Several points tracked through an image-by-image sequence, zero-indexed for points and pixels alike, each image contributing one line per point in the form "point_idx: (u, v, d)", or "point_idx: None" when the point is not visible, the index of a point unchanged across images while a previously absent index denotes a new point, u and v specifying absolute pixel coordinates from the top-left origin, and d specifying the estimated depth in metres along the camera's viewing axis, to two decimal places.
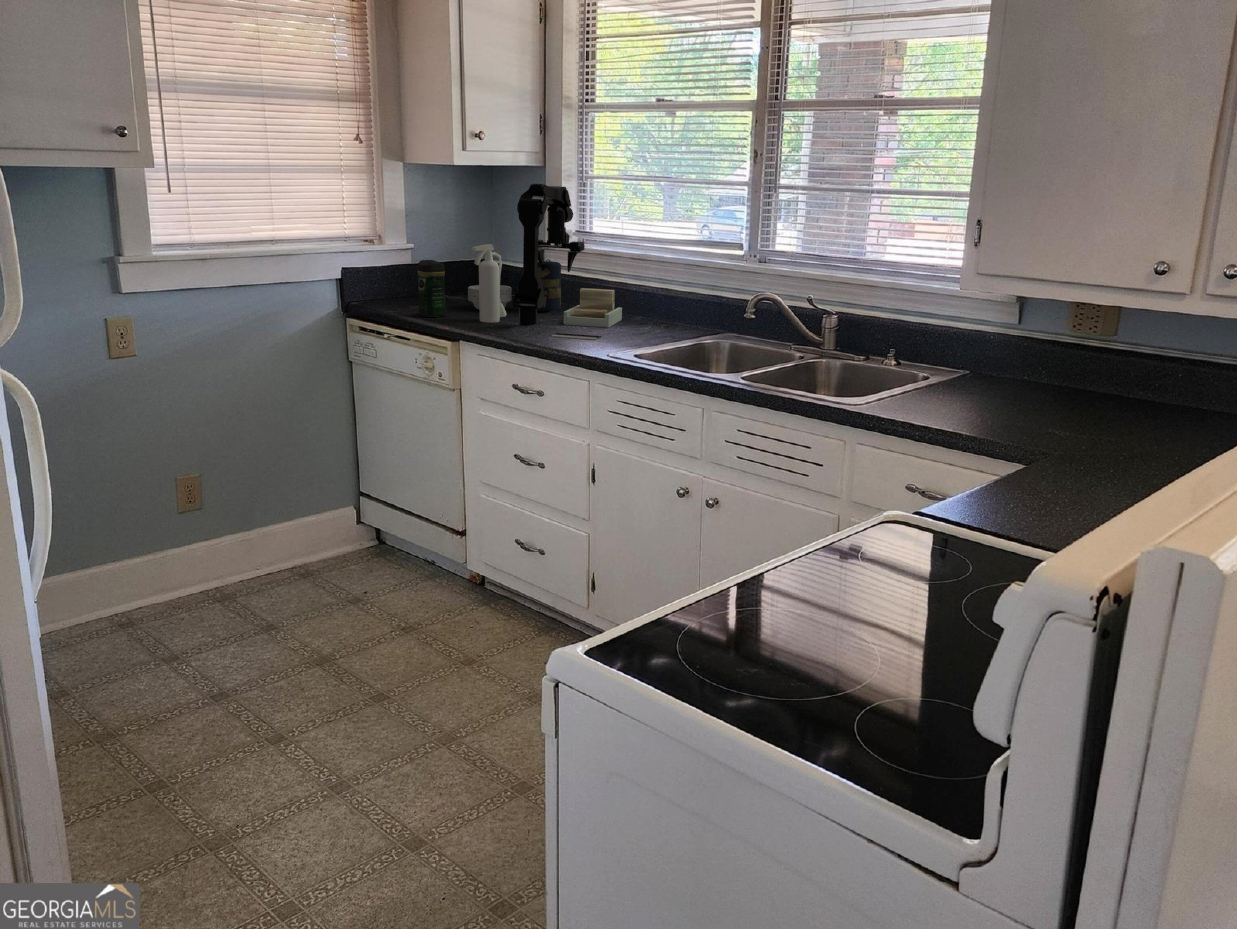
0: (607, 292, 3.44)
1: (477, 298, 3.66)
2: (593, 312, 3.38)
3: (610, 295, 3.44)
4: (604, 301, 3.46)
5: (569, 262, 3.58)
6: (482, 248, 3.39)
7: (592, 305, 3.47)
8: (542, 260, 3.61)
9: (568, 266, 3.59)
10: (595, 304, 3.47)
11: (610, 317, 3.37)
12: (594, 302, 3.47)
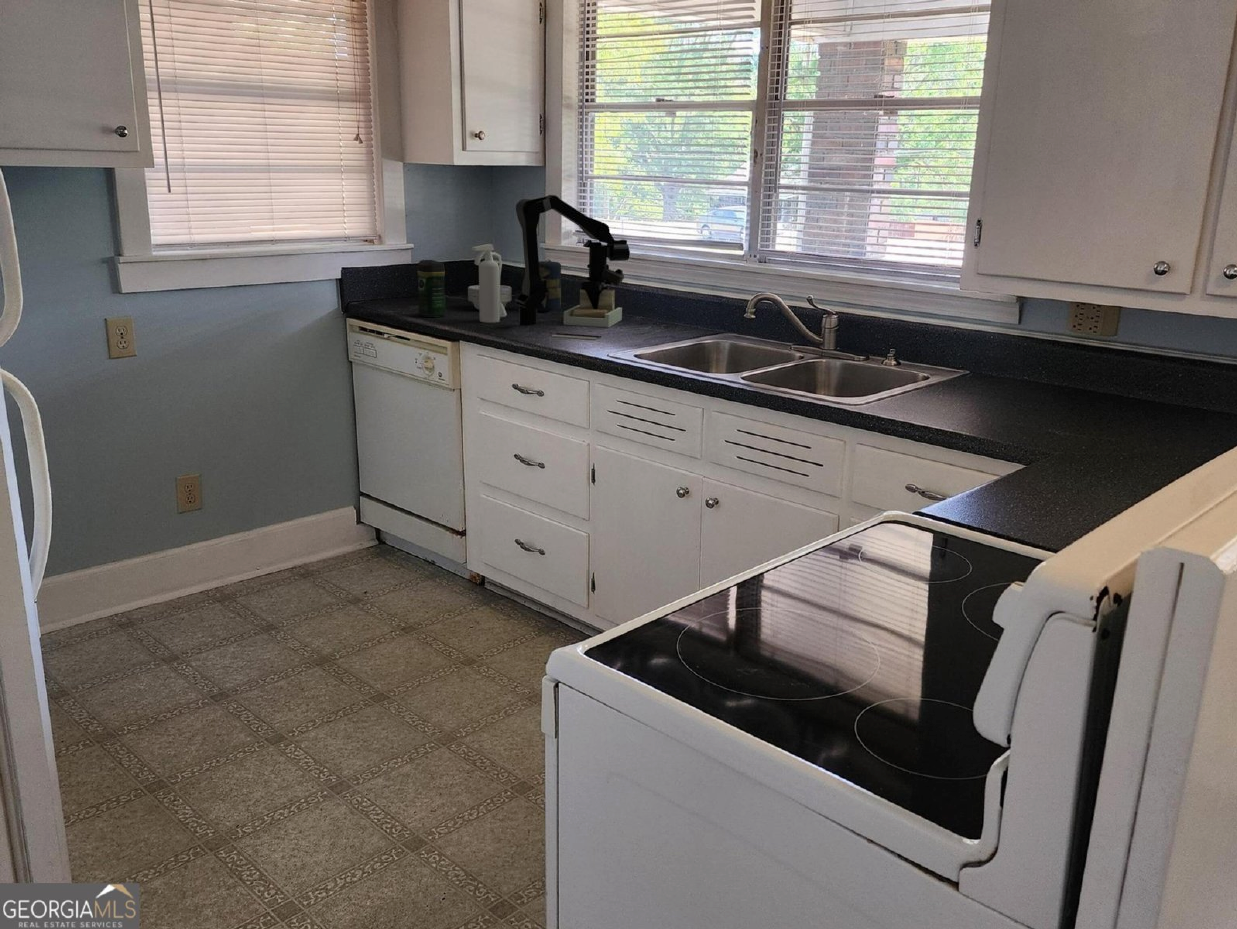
0: (607, 292, 3.44)
1: (477, 298, 3.66)
2: (593, 312, 3.38)
3: (610, 295, 3.44)
4: (604, 301, 3.46)
5: None
6: (482, 248, 3.39)
7: None
8: None
9: None
10: None
11: (610, 317, 3.37)
12: None
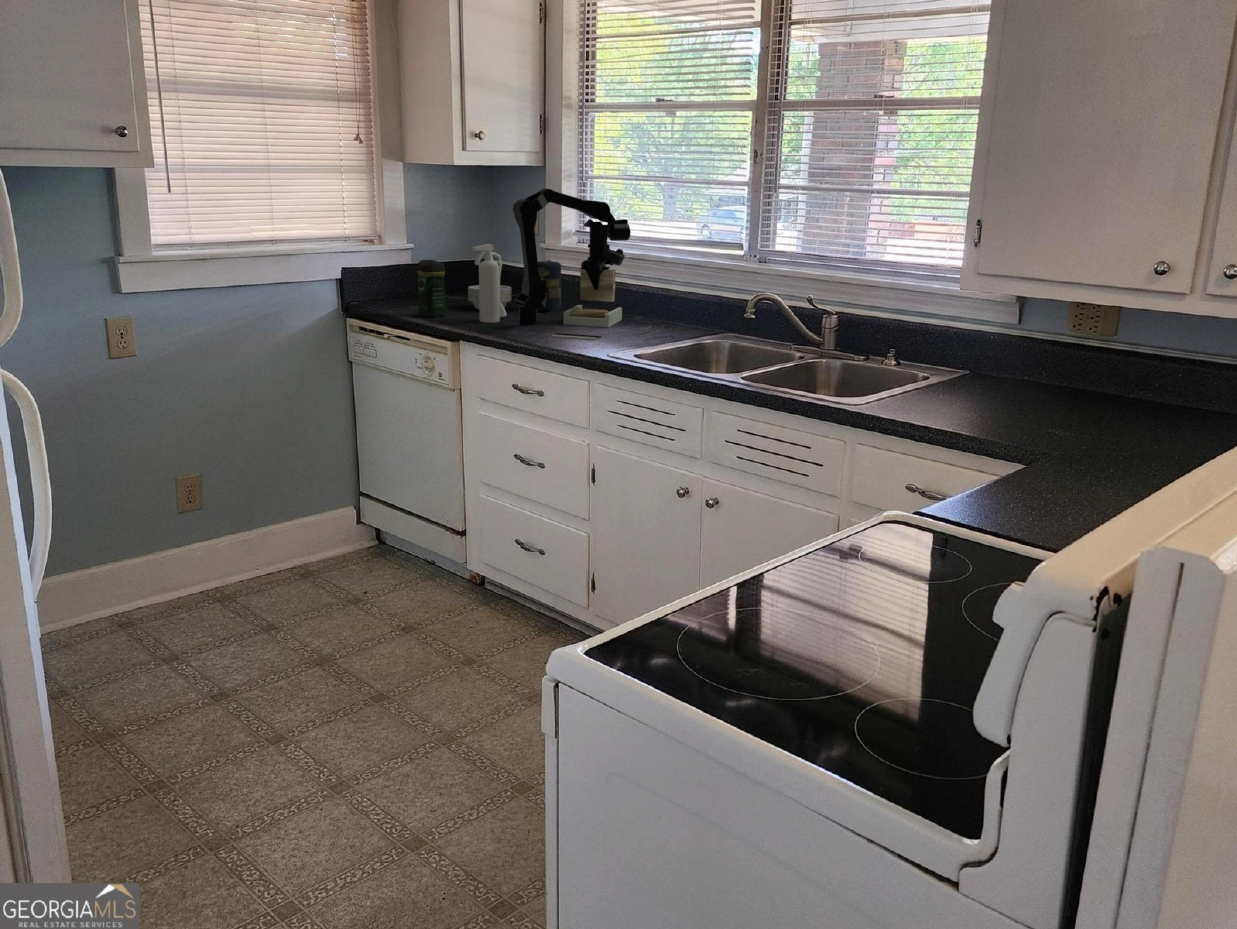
0: (608, 272, 3.43)
1: (477, 298, 3.66)
2: (593, 312, 3.38)
3: (611, 275, 3.43)
4: (605, 281, 3.44)
5: None
6: (482, 248, 3.39)
7: None
8: None
9: None
10: None
11: (610, 317, 3.37)
12: None
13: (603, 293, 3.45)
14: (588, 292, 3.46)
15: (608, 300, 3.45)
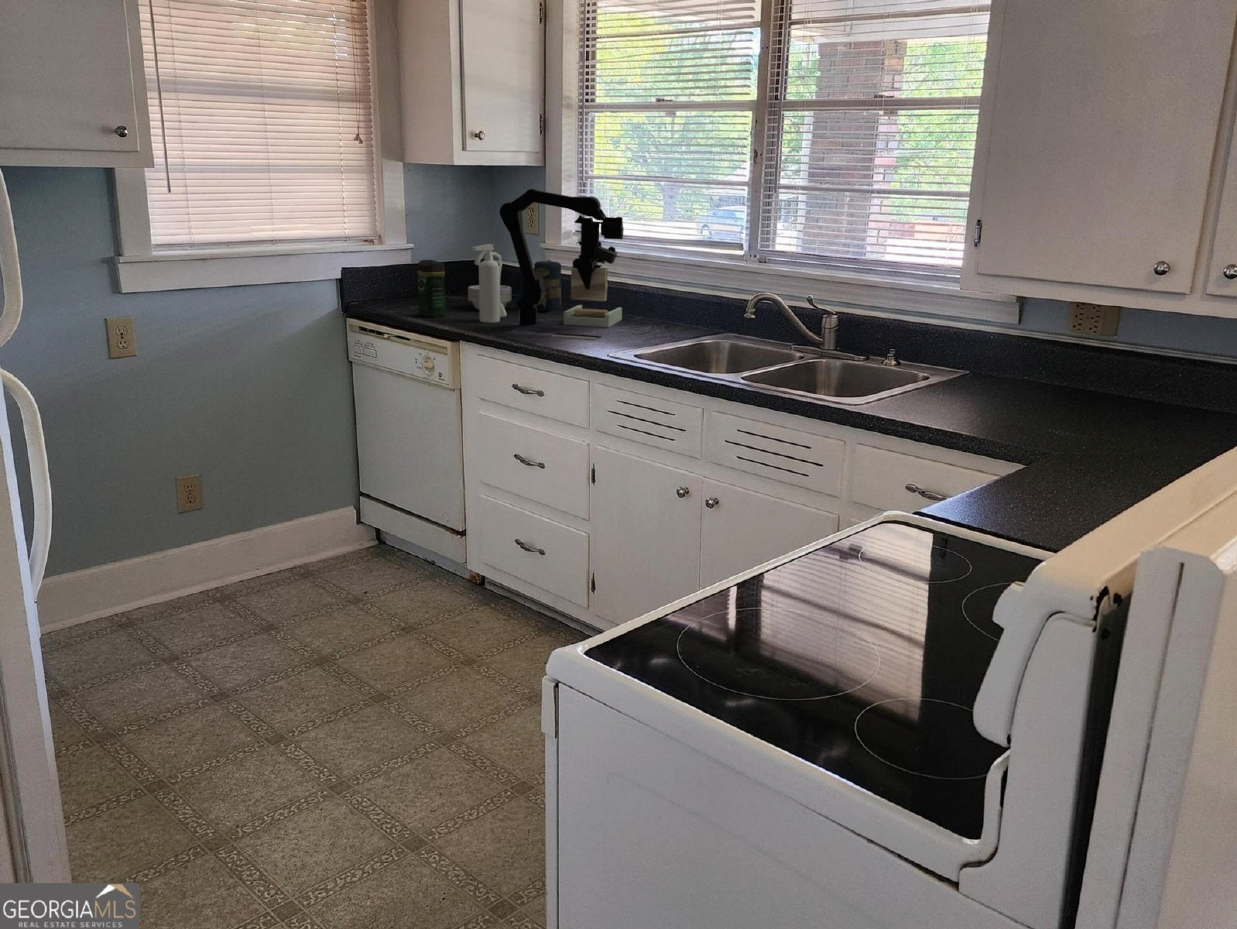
0: (600, 270, 3.30)
1: (477, 298, 3.66)
2: (593, 312, 3.38)
3: (603, 273, 3.30)
4: (597, 280, 3.31)
5: None
6: (482, 248, 3.39)
7: None
8: None
9: None
10: None
11: (610, 317, 3.37)
12: None
13: (595, 292, 3.33)
14: (580, 291, 3.34)
15: (600, 299, 3.33)
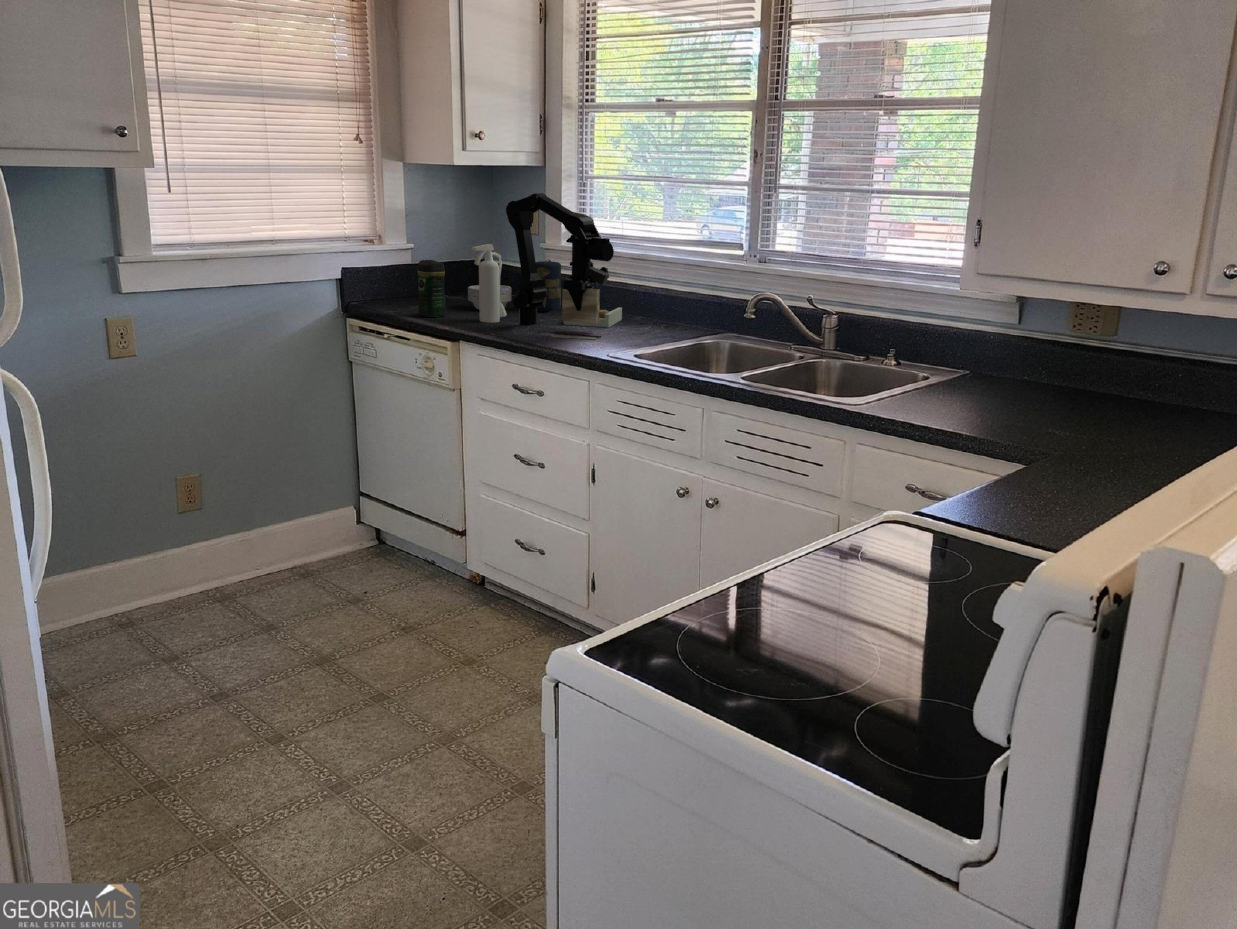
0: (591, 291, 3.21)
1: (477, 298, 3.66)
2: None
3: (595, 295, 3.21)
4: (588, 301, 3.22)
5: None
6: (482, 248, 3.39)
7: None
8: None
9: None
10: None
11: (610, 317, 3.37)
12: None
13: (587, 314, 3.24)
14: (571, 313, 3.25)
15: (592, 321, 3.24)
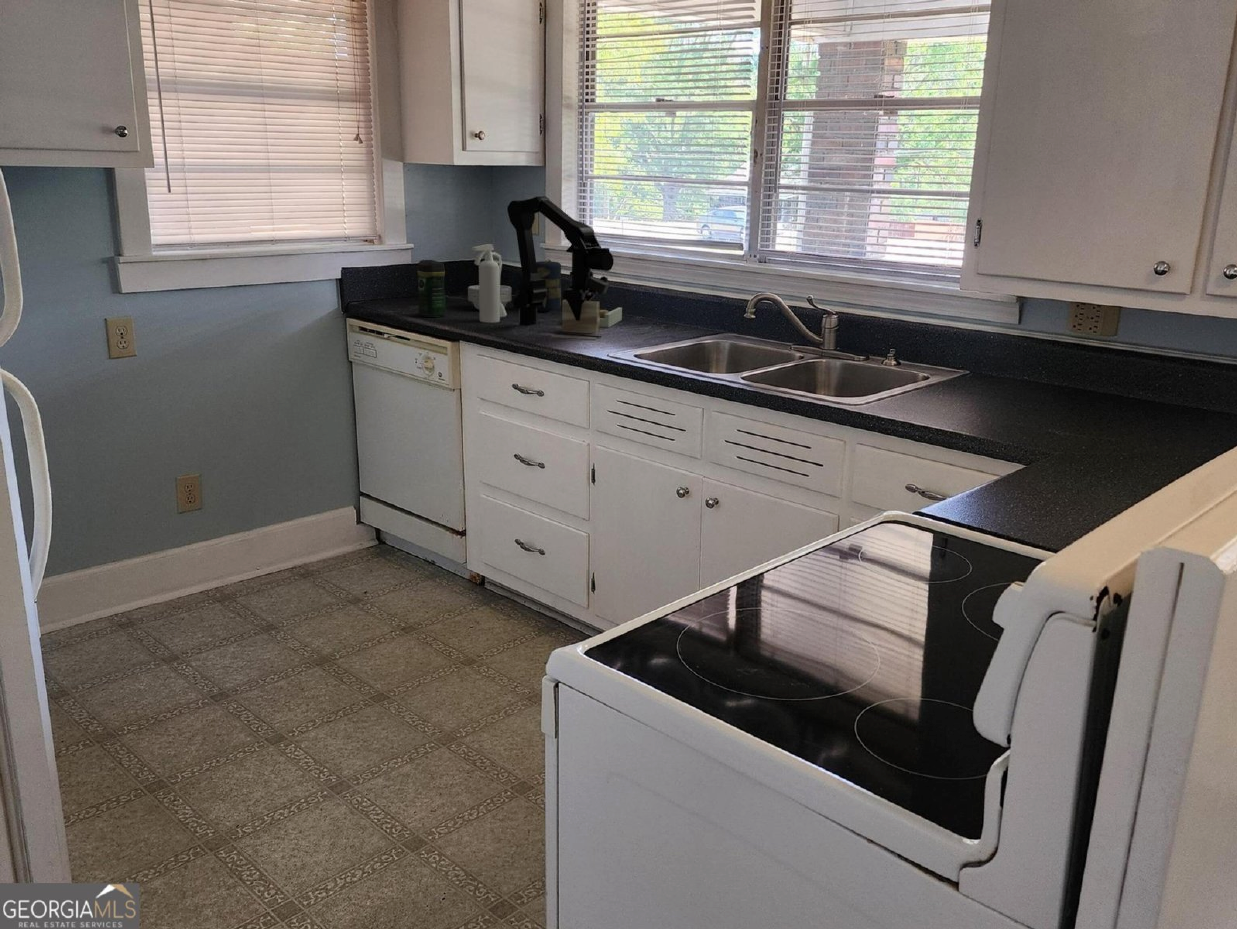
0: (591, 304, 3.22)
1: (477, 298, 3.66)
2: None
3: (594, 307, 3.22)
4: (588, 313, 3.24)
5: None
6: (482, 248, 3.39)
7: None
8: None
9: None
10: None
11: (610, 317, 3.37)
12: None
13: (587, 326, 3.25)
14: (571, 325, 3.26)
15: None
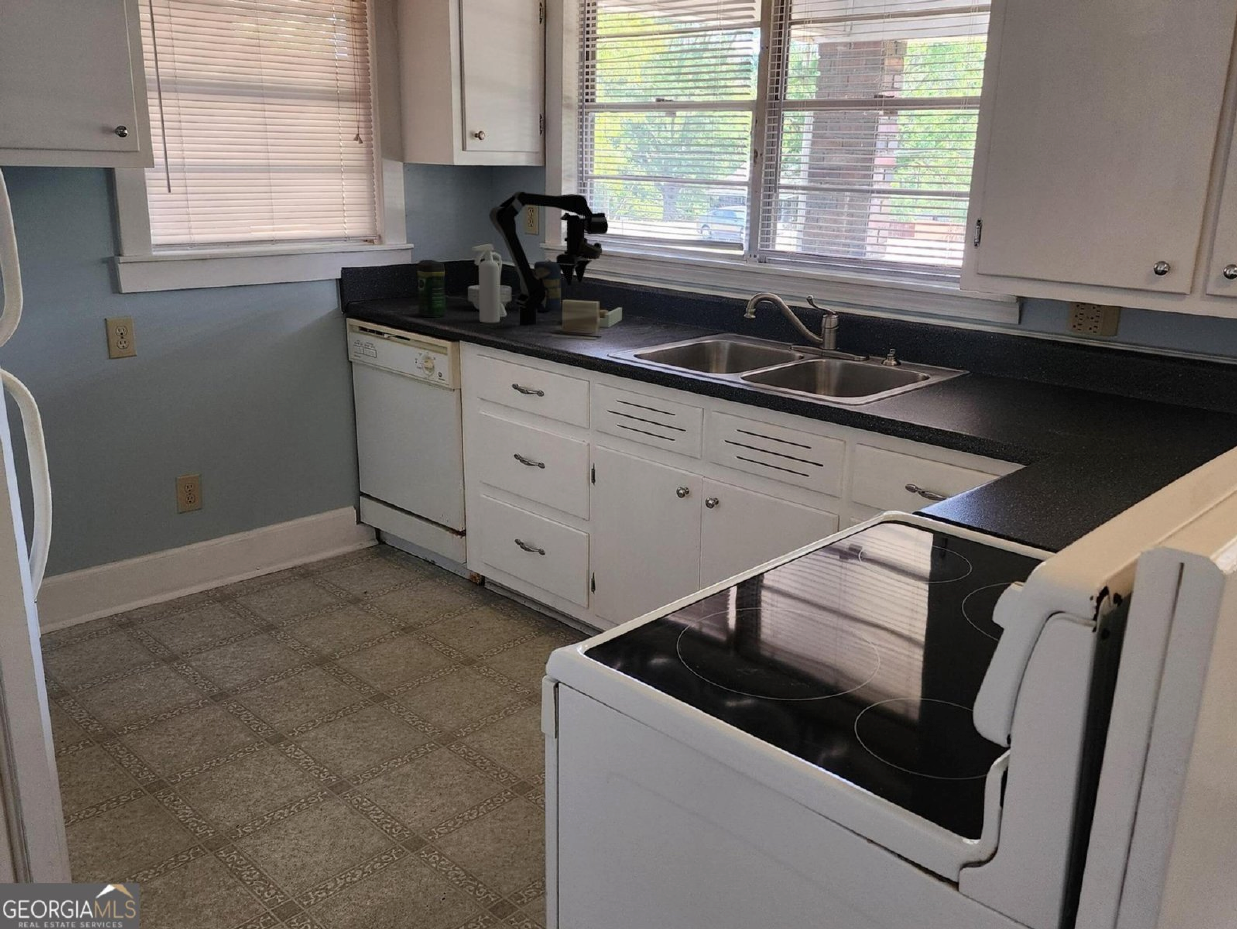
0: (591, 304, 3.22)
1: (477, 298, 3.66)
2: None
3: (594, 307, 3.22)
4: (588, 313, 3.24)
5: None
6: (482, 248, 3.39)
7: (576, 318, 3.25)
8: (578, 271, 3.46)
9: None
10: (579, 317, 3.25)
11: (610, 317, 3.37)
12: (577, 315, 3.25)
13: (587, 326, 3.25)
14: (571, 325, 3.26)
15: None
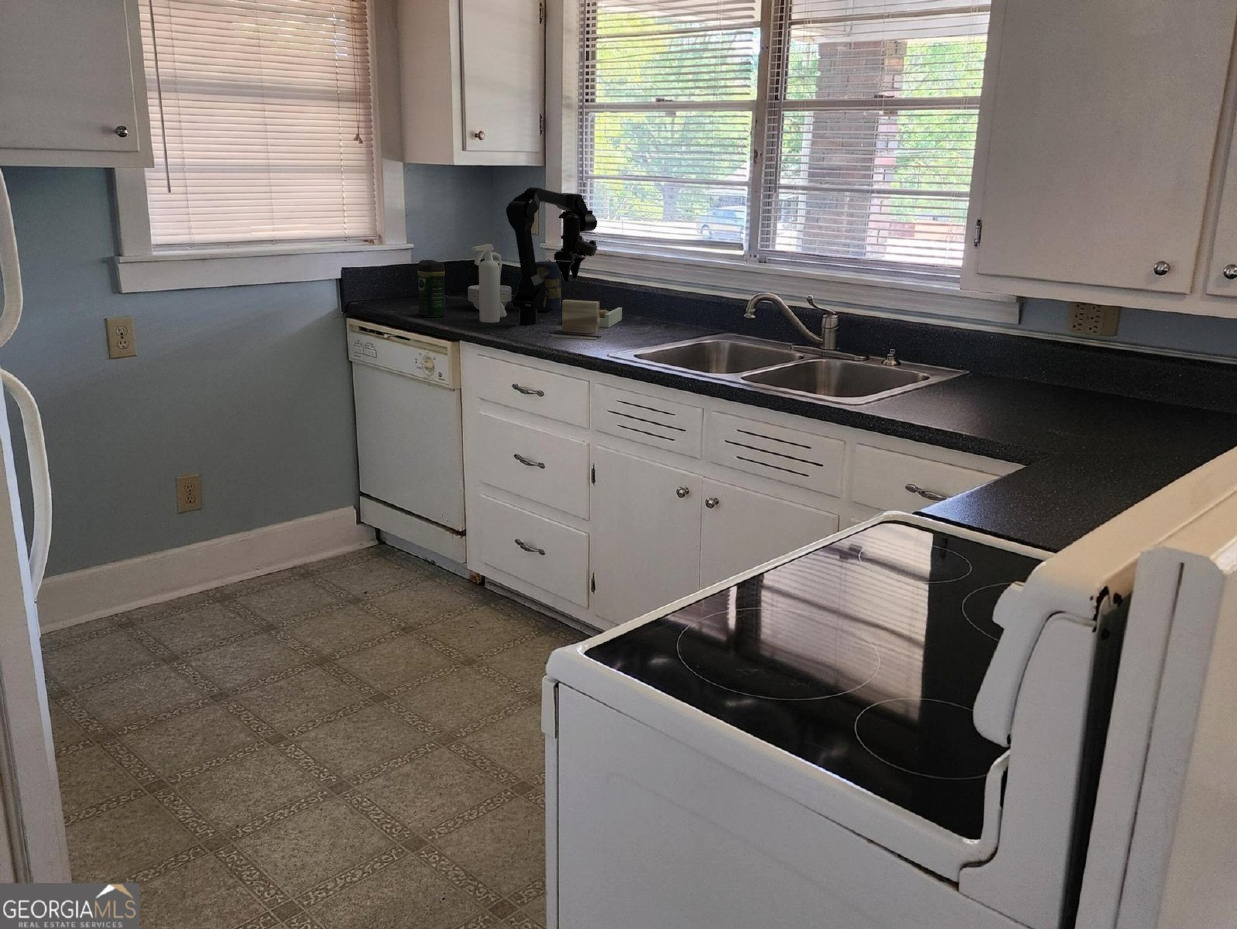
0: (591, 304, 3.22)
1: (477, 298, 3.66)
2: None
3: (594, 307, 3.22)
4: (588, 313, 3.24)
5: None
6: (482, 248, 3.39)
7: (576, 318, 3.25)
8: (573, 268, 3.56)
9: None
10: (579, 317, 3.25)
11: (610, 317, 3.37)
12: (577, 315, 3.25)
13: (587, 326, 3.25)
14: (571, 325, 3.26)
15: None
